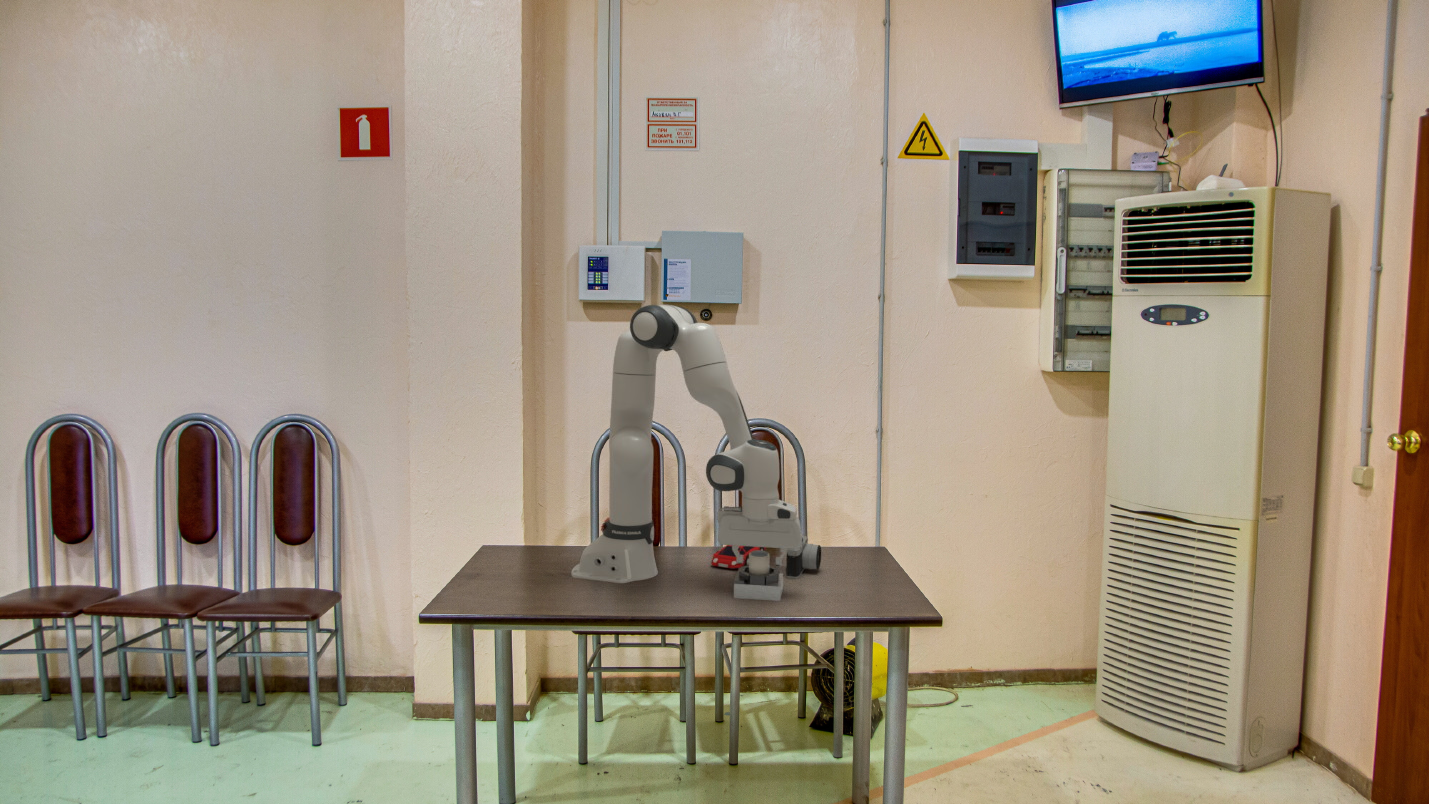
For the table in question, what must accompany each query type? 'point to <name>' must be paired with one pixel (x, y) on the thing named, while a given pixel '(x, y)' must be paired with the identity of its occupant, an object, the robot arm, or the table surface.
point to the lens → (759, 562)
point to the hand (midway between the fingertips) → (759, 564)
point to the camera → (802, 558)
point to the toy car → (733, 556)
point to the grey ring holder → (758, 585)
